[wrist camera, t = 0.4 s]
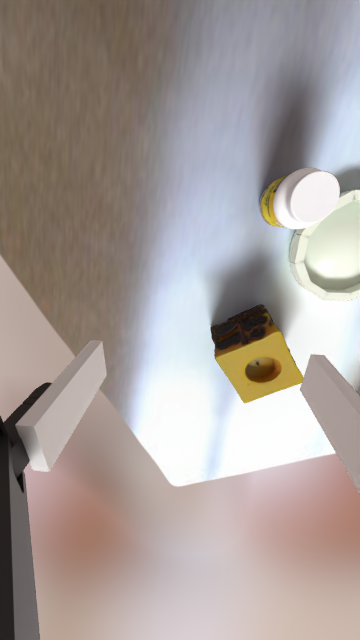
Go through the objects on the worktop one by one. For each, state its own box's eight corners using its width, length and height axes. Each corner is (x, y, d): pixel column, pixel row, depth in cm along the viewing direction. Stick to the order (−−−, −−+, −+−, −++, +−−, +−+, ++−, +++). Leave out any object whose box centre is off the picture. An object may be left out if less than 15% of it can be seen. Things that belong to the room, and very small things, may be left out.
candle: (209, 327, 42) (211, 357, 33) (261, 301, 39) (280, 327, 30) (233, 367, 45) (242, 405, 36) (283, 346, 42) (306, 382, 33)
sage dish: (300, 191, 32) (309, 189, 29) (415, 190, 31) (435, 188, 28) (280, 293, 38) (286, 299, 35) (375, 296, 37) (388, 302, 34)
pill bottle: (268, 172, 31) (300, 151, 21) (311, 185, 31) (363, 170, 21) (251, 220, 34) (272, 221, 24) (290, 231, 34) (328, 238, 24)
